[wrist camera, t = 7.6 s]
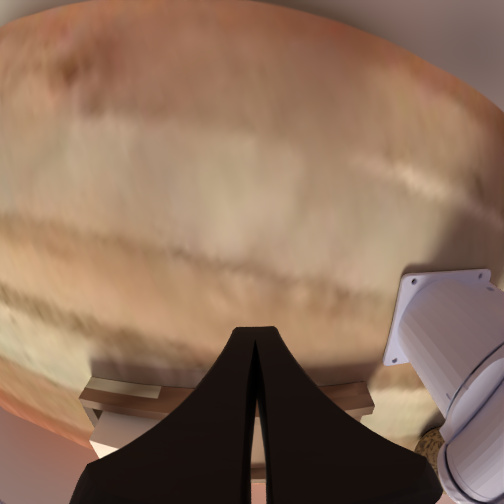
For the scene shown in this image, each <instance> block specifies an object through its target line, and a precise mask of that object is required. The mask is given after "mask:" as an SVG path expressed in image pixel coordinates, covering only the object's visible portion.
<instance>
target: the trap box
mask: <svg viewBox="0 0 504 504" xmlns="http://www.w3.org/2000/svg"><path fill="white" fill-rule="evenodd" d="M319 388H320V389H321V390H322V391H323V392H324V393H325V394H326V395H327V396H328V397H329V398H330V399H331V400H332V401H333V402H334V403H335V404H337V405H338V406H339V407H340V408H341V409H342V410H344V411H345V412H346V413H347V414H349V415H350V416H351V417H353V418H354V419H356V420H357V421H359V422H360V420H361V417H362V416H363V415H369V414H372V412H373V410H374V407H375V405H374V403H373V400H372V398H371V396H370V393H369V391H368V389H367V386H366V384H365V382H358V383H350V384H342V385H332V386H322V387H319ZM193 390H194V389H190V388H175V387H163V386H153V385H144V384H135V383H128V382H120V381H113V380H107V379H101V378H95V377H91V378H90V380H89V382H88V383H87V385H86V387H85V388H84V390H83V392H82V393H81V395H80V397H79V400H80V402H81V404H82V406H83V408H84V410H85V412H86V413H87V415H88V417H89V419H90V421H91V422H92V424H93V426H94V428H95V427H96V425H97V423H98V420H99V418H100V416H101V414H102V412H103V411H107V412H112V413H117V414H123V415H129V416H135V417H141V418H148V419H156V420H163V419H164V418H165V417H166V416H167V415H168V414H169V413H171V412H172V411H173V410H174V409H175V408H176V407H177V406H178V405H179V404H180V403H181V402H182V401H183V400H184V399H185V398H186V397H187V396H188V395H189V394H190V393H191V392H192V391H193ZM251 483H266V471H265V455H264V447H263V440H262V433H261V425H260V418H259V410H258V403H257V404H256V414H255V425H254V435H253V444H252V455H251Z"/></svg>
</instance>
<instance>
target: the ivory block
mask: <svg viewBox="0 0 504 504" xmlns="http://www.w3.org/2000/svg"><path fill="white" fill-rule="evenodd" d="M160 421H161V420H156V419H148V418H141V417H135V416H129V415H123V414H117V413H112V412H107V411H103V412H102V414H101V416H100V418H99V420H98V423H97V425H96V427H95V429H94V431H93V433H92V435H91V437H90V439H89V441H90V443H91V445H92V446H93V448H94V450H95V451H96V453H97V455H98V457H99V458H102V457H104V456H106V455H108V454H110V453H112V452H114V451H116V450H118V449H120V448H122V447H123V446H125V445H127V444H129V443H130V442H132V441H133V440H135V439H136V438H138V437H139V436H141V435H142V434H144V433H145V432H146V431H148V430H149V429H151V428H152V427H154V426H155V425H156V424H158V423H159V422H160Z"/></svg>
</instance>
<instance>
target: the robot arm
mask: <svg viewBox="0 0 504 504" xmlns="http://www.w3.org/2000/svg"><path fill="white" fill-rule="evenodd" d="M479 274H480V275H479ZM478 276H479V277H478ZM490 277H491V271H490V270H489V269H487V268H486V269H472V270H458V271H442V272H425V273H408V274H405V275H403V277H402V278H401V282H400V287H399V292H398V298H397V302H396V307H395V312H394V316H393V321H392V325H391V329H390V334H389V338H388V341H387V345H386V349H385V353H384V356H383V361H382V362H383V363H384V365H385V366H390V365H396V364H402V363H408V362H410V363H411V365H412V366H413V368H414V369H415V371H416V372H417V374H418V376H419V377H420V379H421V380H422V382H423V384H424V385H425V387H426V388H427V390H428V392H429V393H430V395H431V396H432V398H433V400H434V401H435V403H436V405H437V406H438V408H439V410H440V411H441V413H442V415H443V417H444V418H445V420H446V422H445V423H444V425H443V426H442V427H441V428H440V430H439V431H440V433H441V435H442V437H443V439H444V441H445V443H444V444H443V445H442V447H441V448H440V450H439V453H438V457H437V467H438V473H439V478H440V481H441V483H440V481H439V479H438V476H437V474H436V473H435V471H434V469H433V467H432V466H431V464H430V463H429V461H428V459H427V458H426V457H425V456H422V455H420V454H418V453H415V452H413V451H411V450H408V449H406V448H404V447H401V446H399V445H397V444H395V443H393V442H391V441H389V440H387V439H385V438H384V437H382V436H380V435H378V434H377V433H375V432H373V431H372V430H370V429H369V428H367V427H366V426H364V425H363V424H361V423H360V422H359V421H357V420H356V419H354V418H353V417H351V416H350V415H349V414H347V413H346V412H345V411H344V410H342V409H341V408H340V407H339V406H338V405H337V404H335V403H334V402H333V401H332V400H331V399H330V398H329V397H328V396H327V395H326V394H325V393H324V392H323V391H322V390H321V389H320V388H319V387H318V386H317V385H316V384H315V383H314V382H313V381H312V380H311V378H310V377H309V376H308V375H307V374H306V373H305V371H304V370H303V369H302V368H301V366H300V365H299V364H298V362H297V361H296V360H295V358H294V357H293V355H292V354H291V353H290V351H289V350H288V348H287V346H286V345H285V343H284V341H283V340H282V338H281V336H280V334H279V332H278V329H277V328H276V327H274V326H266V327H236V328H235V329H234V330H233V331H232V334H231V336H230V338H229V340H228V342H227V344H226V346H225V347H224V349H223V351H222V352H221V354H220V355H219V357H218V359H217V360H216V362H215V363H214V365H213V366H212V367H211V369H210V370H209V371H208V373H207V374H206V375H205V377H204V378H203V379H202V380H201V382H200V383H199V384H198V385H197V386H196V388H195V389H194V390H193V391H192V392H191V393H190V394H189V395H188V396H187V397H186V398H185V399H184V400H183V401H182V402H181V403H180V404H179V405H178V406H177V407H176V408H175V409H174V410H173V411H172V412H171V413H169V414H168V415H167V416H166V417H165V418H164V419H163V420H161V421H160V422H159V423H158V424H156V425H155V426H154V427H152V428H151V429H149V430H148V431H146V432H145V433H144V434H142V435H141V436H139V437H138V438H136V439H135V440H133V441H132V442H130V443H129V444H127V445H125V446H123V447H122V448H120V449H118V450H116V451H114V452H112V453H110V454H108V455H106V456H104V457H102V458H100V459H98V460H96V461H93V462H91V463H89V464H87V466H86V468H85V470H84V471H83V473H82V474H81V476H80V478H79V480H78V482H77V485H76V487H75V490H74V492H73V495H72V498H71V500H70V503H69V504H251V455H252V444H253V435H254V425H255V414H256V404H257V403H258V410H259V418H260V425H261V433H262V440H263V447H264V455H265V471H266V502H267V503H266V504H435V503H436V502H437V501H438V500H439V499H440V497H441V495H442V493H443V488H444V490H445V491H446V493H447V494H448V496H449V497H450V498H451V499H452V500H453V501H455V502H456V503H457V504H504V292H503V291H502V290H500V289H499V288H497V287H496V286H495V285H493V284H492V283H490V282H489V281H490ZM414 278H415V281H414V282H412V280H413V279H414ZM411 282H412V283H411ZM393 359H394V360H393ZM441 484H442V486H443V488H442V486H441ZM0 504H6V503H4V502H3V501H1V500H0Z"/></svg>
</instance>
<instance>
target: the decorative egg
mask: <svg viewBox="0 0 504 504" xmlns="http://www.w3.org/2000/svg"><path fill="white" fill-rule="evenodd" d="M440 428H441V427H437V428H434V429H432V430H430V431H429V432H427V433H426V434H425V435H424V436H423V437H422V438H421V439H420V441H419V442H418V444H417V446H416V448H415V451H414V452H415V453H418V454H420V455H422V456H425V457H426V458H427V459H428V461H429V463H430V464H431V466H432V467H433V469H434V471H435V473H436V474H437V476H438V479H439V481H440V478H439V473H438V467H437V457H438V453H439V450H440V448H441V447H442V445H443V444H444V443H445V441H444V439H443V437H442V435H441V433H440V431H439V430H440ZM440 483H441V481H440ZM441 486H442V484H441ZM442 488H443V486H442ZM442 494H447V493H446V491H445V490H444V488H443V493H442Z"/></svg>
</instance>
